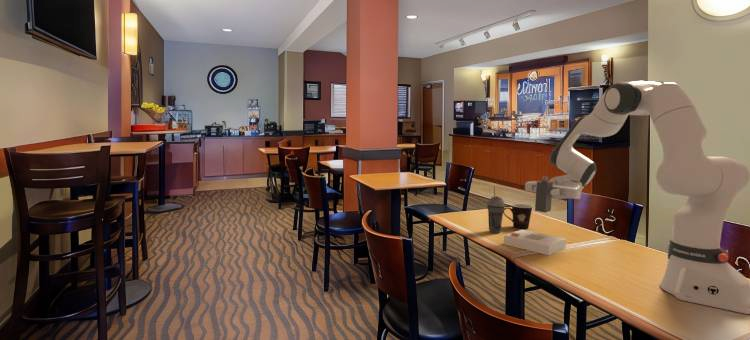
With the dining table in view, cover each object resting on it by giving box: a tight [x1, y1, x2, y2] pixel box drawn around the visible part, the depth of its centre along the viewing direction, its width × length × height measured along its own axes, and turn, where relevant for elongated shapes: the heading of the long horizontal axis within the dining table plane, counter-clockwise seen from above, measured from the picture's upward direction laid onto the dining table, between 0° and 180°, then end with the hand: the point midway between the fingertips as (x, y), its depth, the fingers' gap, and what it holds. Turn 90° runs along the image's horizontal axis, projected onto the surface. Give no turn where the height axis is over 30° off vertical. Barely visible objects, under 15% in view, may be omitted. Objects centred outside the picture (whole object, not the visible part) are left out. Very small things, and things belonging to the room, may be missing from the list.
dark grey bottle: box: [534, 176, 553, 213], centre depth 163 cm, size 4×4×13 cm
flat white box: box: [503, 229, 567, 256], centre depth 166 cm, size 18×14×4 cm
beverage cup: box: [486, 185, 506, 234], centre depth 185 cm, size 7×7×20 cm
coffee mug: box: [503, 203, 533, 230], centre depth 195 cm, size 12×9×10 cm
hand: (542, 191), depth 162 cm, fingers closed on dark grey bottle, 4 cm apart
